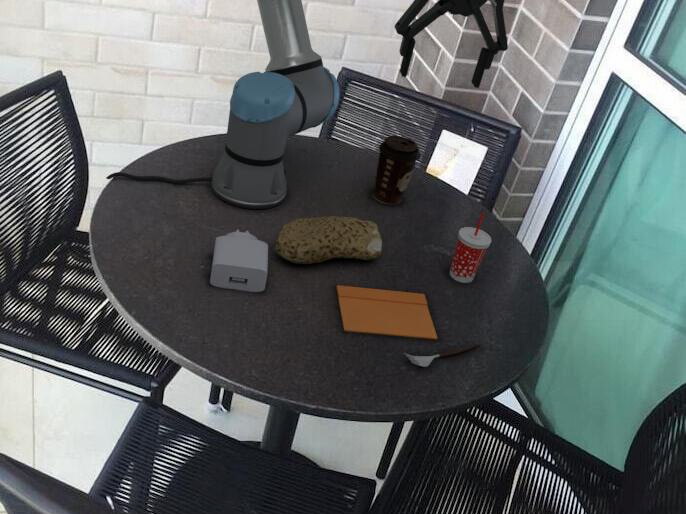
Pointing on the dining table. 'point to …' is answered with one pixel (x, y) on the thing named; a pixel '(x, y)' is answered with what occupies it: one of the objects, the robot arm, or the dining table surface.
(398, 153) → the coffee cup
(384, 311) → the cloth
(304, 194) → the dining table surface
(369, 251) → the sponge
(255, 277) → the charger
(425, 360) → the fork
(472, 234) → the beverage cup
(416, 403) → the dining table surface
